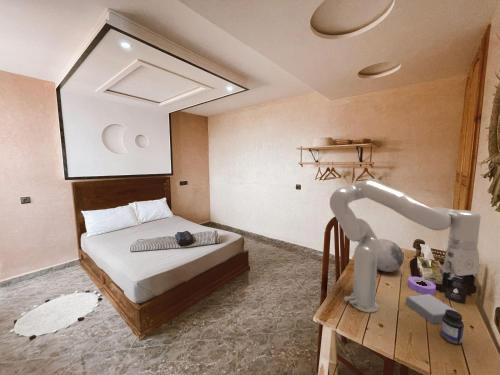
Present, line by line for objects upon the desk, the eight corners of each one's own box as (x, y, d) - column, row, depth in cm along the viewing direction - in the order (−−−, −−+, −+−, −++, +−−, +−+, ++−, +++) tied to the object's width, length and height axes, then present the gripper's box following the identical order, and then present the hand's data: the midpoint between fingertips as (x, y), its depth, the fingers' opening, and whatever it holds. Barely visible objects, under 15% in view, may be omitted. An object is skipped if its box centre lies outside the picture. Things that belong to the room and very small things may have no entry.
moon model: (369, 275, 128) (371, 244, 125) (363, 260, 147) (364, 233, 144) (407, 280, 122) (410, 248, 119) (395, 264, 140) (398, 236, 138)
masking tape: (417, 280, 122) (417, 274, 121) (440, 292, 111) (441, 286, 110) (402, 284, 118) (403, 278, 118) (425, 297, 107) (426, 290, 107)
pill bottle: (450, 332, 85) (453, 307, 84) (466, 345, 79) (469, 319, 78) (436, 332, 85) (438, 308, 83) (450, 345, 79) (454, 319, 77)
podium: (432, 324, 89) (433, 315, 89) (405, 303, 102) (406, 296, 102) (457, 320, 91) (458, 311, 91) (428, 300, 104) (429, 293, 104)
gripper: (454, 249, 72) (449, 295, 74) (494, 245, 75) (488, 289, 77) (432, 241, 79) (428, 283, 81) (469, 238, 82) (465, 278, 84)
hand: (457, 286), depth 79 cm, fingers open, 9 cm apart
